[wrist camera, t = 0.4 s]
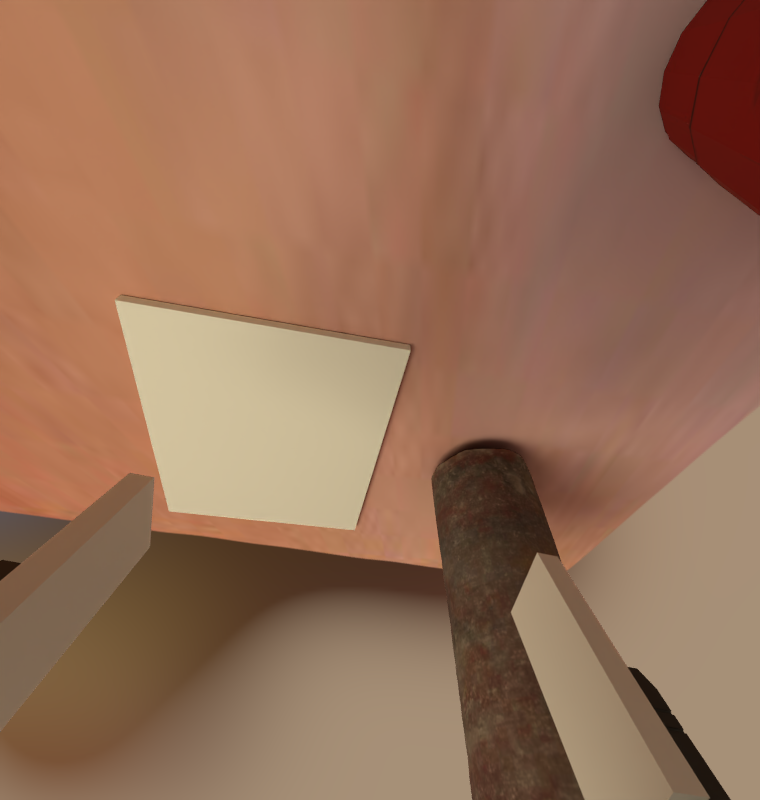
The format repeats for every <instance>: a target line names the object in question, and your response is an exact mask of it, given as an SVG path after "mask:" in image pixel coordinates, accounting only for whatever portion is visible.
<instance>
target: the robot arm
mask: <svg viewBox="0 0 760 800" xmlns="http://www.w3.org/2000/svg"><path fill="white" fill-rule="evenodd" d="M153 491H154V477H149V476H144V475H139V474H133V473H129V474H128V475H127V476H126V477H124V478H123V479H122V480H121V481H120V482H118V483H117V484H116V485H115V486H114V487H112V488H111V489H110V490H109V491H107V492H106V493H105V494H104V495H103V496H101V497H100V498H99V499H98V500H97V501H95V502H94V503H93V504H92V505H91V506H89V507H88V508H87V509H86V510H85V511H83V512H82V513H81V514H80V515H79V516H77V517H76V518H75V519H74V520H73V521H71V522H70V523H69V524H68V525H67V526H66V527H64V528H63V529H62V530H61V531H60V532H58V533H57V534H56V535H55V536H53V537H52V538H51V539H50V540H49V541H48V542H46V543H45V544H44V545H43V546H41V547H40V548H39V549H38V550H37V551H35V552H34V553H33V554H32V555H31V556H30V557H28V558H27V559H26V560H25V561H24V562H23V563H16V562H11V561H5V560H1V561H0V731H1V730H2V729H3V728H4V726H5V725H6V724H7V723H8V721H9V720H10V719H11V718H12V716H13V715H14V714H15V713H16V711H17V710H18V709H19V708H20V707H21V705H22V704H23V703H24V702H25V700H26V699H27V698H28V697H29V695H30V694H31V693H32V692H33V690H34V689H35V688H36V686H37V685H38V684H39V683H40V682H41V681H42V679H43V678H44V677H45V675H46V674H47V673H48V672H49V671H50V669H51V668H52V667H53V666H54V665H55V663H56V662H57V661H58V660H59V658H60V657H61V656H62V655H63V653H64V652H65V651H66V650H67V648H68V647H69V646H70V645H71V644H72V642H73V641H74V640H75V639H76V637H77V636H78V635H79V634H80V632H81V631H82V630H83V629H84V627H85V626H86V625H87V624H88V622H89V621H90V620H91V619H92V618H93V616H94V615H95V614H96V613H97V611H98V610H99V609H100V608H101V606H102V605H103V604H104V603H105V602H106V600H107V599H108V598H109V597H110V595H111V594H112V593H113V592H114V590H115V589H116V588H117V587H118V586H119V584H120V583H121V582H122V581H123V579H124V578H125V577H126V576H127V574H128V573H129V572H130V571H131V569H132V568H133V567H134V566H135V565H136V563H137V562H138V561H139V560H140V558H141V557H142V556H143V555H144V553H145V552H146V551H147V550H148V549H149V547H150V537H151V522H152V506H153ZM511 614H512V616H513V619H514V621H515V624H516V627H517V629H518V632H519V634H520V637H521V639H522V642H523V644H524V647H525V649H526V652H527V655H528V657H529V660H530V662H531V665H532V667H533V670H534V672H535V675H536V677H537V680H538V682H539V685H540V688H541V690H542V693H543V695H544V698H545V700H546V703H547V705H548V708H549V710H550V713H551V716H552V718H553V721H554V723H555V726H556V728H557V731H558V733H559V736H560V738H561V741H562V743H563V746H564V749H565V751H566V754H567V756H568V759H569V761H570V764H571V766H572V769H573V771H574V774H575V776H576V779H577V782H578V784H579V787H580V789H581V792H582V794H583V797H584V799H585V800H730V798H729V797H728V795H727V794H726V792H725V791H724V789H723V788H722V786H721V785H720V783H719V782H718V780H717V779H716V777H715V776H714V774H713V773H712V771H711V770H710V768H709V767H708V765H707V764H706V762H705V761H704V759H703V758H702V756H701V755H700V753H699V752H698V750H697V749H696V747H695V746H694V744H693V743H692V741H691V740H690V738H689V737H688V735H687V734H685V733H684V732H683V728H682V726H681V725H680V723H679V722H678V720H677V719H676V717H675V716H674V715H672V714H671V710H670V709H669V707H668V705H667V704H666V702H665V701H664V699H663V698H662V697H661V695H660V693H659V692H658V690H657V689H656V688H655V687H654V686H653V685H652V684H651V683H650V682H649V681H648V679H646V677H645V676H644V675H643V674H642V673H641V672H640V671H639V670H638V669H636V668H630V667H627V666H626V664H625V662H624V661H623V660H622V658H621V656H620V655H619V653H618V651H617V650H616V648H615V647H614V645H613V643H612V642H611V640H610V639H609V637H608V636H607V634H606V632H605V631H604V629H603V628H602V626H601V625H600V623H599V621H598V620H597V618H596V617H595V615H594V613H593V612H592V610H591V609H590V607H589V605H588V604H587V602H586V601H585V599H584V598H583V596H582V594H581V593H580V591H579V590H578V588H577V586H576V585H575V583H574V582H573V580H572V579H571V577H570V575H569V574H568V572H567V571H566V569H565V567H564V566H563V564H562V563H561V561H560V560H559V558H558V557H557V556H552V555H547V554H542V553H537V554H536V556H535V559H534V561H533V563H532V565H531V568H530V570H529V572H528V574H527V577H526V579H525V581H524V583H523V586H522V588H521V590H520V593H519V595H518V597H517V599H516V602H515V604H514V606H513V608H512V611H511Z"/></svg>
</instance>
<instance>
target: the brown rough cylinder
mask: <svg viewBox="0 0 760 800" xmlns="http://www.w3.org/2000/svg"><path fill="white" fill-rule="evenodd" d="M432 489H433V497H434V506H435V515H436V522H437V530H438V537H439V545H440V552H441V558H442V566H443V574H444V583H445V589H446V595H447V603H448V610H449V617H450V623H451V633H452V641H453V649H454V657H455V663H456V674H457V680H458V687H459V696H460V702H461V711H462V720H463V726H464V733H465V741H466V748H467V755H468V764H469V775H470V776H469V777H470V784H471V793H472V799H473V800H585V799H584V797H583V794H582V792H581V789H580V787H579V784H578V782H577V779H576V776H575V774H574V771H573V769H572V766H571V764H570V761H569V759H568V756H567V754H566V751H565V749H564V746H563V743H562V741H561V738H560V736H559V733H558V731H557V728H556V726H555V723H554V721H553V718H552V716H551V713H550V710H549V708H548V705H547V703H546V700H545V698H544V695H543V693H542V690H541V688H540V685H539V682H538V680H537V677H536V675H535V672H534V670H533V667H532V665H531V662H530V660H529V657H528V655H527V652H526V649H525V647H524V644H523V642H522V639H521V637H520V634H519V632H518V629H517V627H516V624H515V621H514V619H513V616H512V614H511V611H512V608H513V606H514V604H515V602H516V599H517V597H518V595H519V593H520V590H521V588H522V586H523V583H524V581H525V579H526V577H527V574H528V572H529V570H530V568H531V565H532V563H533V561H534V559H535V556H536V554H537V553H542V554H547V555H552V556H557V557H558V558H559V560H560V557H559V554H558V551H557V548H556V545H555V542H554V539H553V536H552V533H551V531H550V528H549V525H548V522H547V520H546V517H545V514H544V511H543V508H542V505H541V503H540V500H539V497H538V494H537V492H536V489H535V485H534V482H533V480H532V477H531V474H530V472H529V469H528V467H527V465H526V463H525V462H524V460H523V459H522V457H520V456H519V455H518V454H517V453H515V452H512V451H510V450H507V449H473V450H464V451H463V452H460V453H458V454H457V455H455V456H453V457H451V458H450V459H449V460H447V461H445V462H444V463H441V464H440V465H439V466H438V468H437V469H436V471H435V473H434V474H433V475H432ZM560 561H561V560H560Z"/></svg>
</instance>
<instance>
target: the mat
mask: <svg viewBox="0 0 760 800" xmlns="http://www.w3.org/2000/svg"><path fill="white" fill-rule="evenodd" d="M115 303H116V307H117V311H118V314H119V318H120V322H121V326H122V330H123V334H124V338H125V342H126V346H127V349H128V353H129V357H130V361H131V365H132V369H133V373H134V377H135V381H136V384H137V388H138V392H139V396H140V400H141V404H142V408H143V412H144V416H145V419H146V423H147V427H148V431H149V435H150V439H151V443H152V447H153V451H154V454H155V458H156V462H157V466H158V470H159V474H160V478H161V482H162V486H163V489H164V493H165V497H166V501H167V505H168V509H169V511H171V512H181V513H191V514H200V515H210V516H220V517H230V518H240V519H250V520H259V521H269V522H279V523H289V524H299V525H309V526H318V527H328V528H338V529H348V530H355V528H356V524H357V521H358V518H359V515H360V511H361V508H362V505H363V502H364V499H365V495H366V492H367V489H368V486H369V483H370V479H371V476H372V473H373V470H374V467H375V463H376V460H377V457H378V454H379V451H380V447H381V444H382V441H383V438H384V435H385V431H386V428H387V425H388V422H389V418H390V415H391V412H392V409H393V406H394V402H395V399H396V396H397V393H398V390H399V386H400V383H401V380H402V377H403V374H404V370H405V367H406V364H407V361H408V358H409V354H410V351H411V349H410V345H408V344H402V343H397V342H391V341H385V340H379V339H373V338H368V337H362V336H356V335H350V334H344V333H339V332H333V331H327V330H321V329H315V328H310V327H304V326H298V325H292V324H287V323H281V322H275V321H269V320H263V319H258V318H252V317H246V316H240V315H234V314H229V313H223V312H217V311H211V310H206V309H200V308H194V307H188V306H182V305H177V304H171V303H165V302H159V301H153V300H148V299H142V298H136V297H130V296H125V295H120V296H119V297H117V298H116V299H115Z"/></svg>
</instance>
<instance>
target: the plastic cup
mask: <svg viewBox="0 0 760 800" xmlns="http://www.w3.org/2000/svg"><path fill="white" fill-rule="evenodd" d="M659 108H660V112H661V116H662V120H663V124H664V128H665V132H666V133H667V134H668V136H669V139H670V140H671V141H672V142H673V143H674V144H675V145H676V146H677V147H678V148H680V149H681V150H682V151H683V152H684V153H685V154H686V155H687V156H688V157H690V158H691V159H692V160H694V161H695V162H696V163H697V164H698V165H699V166H700V167H701V168H702V169H703V170H704V171H705V172H706V173H707V174H708V175H710V176H711V177H712V178H713V179H714V180H715V181H716V182H717V183H718V184H719V185H721V186H722V187H723V188H724V189H726V190H727V191H728V192H730V193H731V194H732V195H734V196H735V197H736V198H737V199H739V200H740V201H741V202H743V203H744V204H745V205H747V206H748V207H749V208H750V209H752V210H753V211H754V212H756V213H757V214H758V215H759V216H760V0H707V1H706V3H705V4H704V5H703V7H702V8H701V9H700V10H699V12H698V13H697V14H696V16H695V17H694V18H693V19H692V21H691V22H690V23H689V24H688V26H687V27H686V28H685V30H684V31H683V32H682V34H681V36H680V38H679V41H678V43H677V45H676V47H675V49H674V51H673V54H672V56H671V58H670V60H669V62H668V65H667V67H666V69H665V71H664V77H663V83H662V89H661V96H660V102H659Z"/></svg>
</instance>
